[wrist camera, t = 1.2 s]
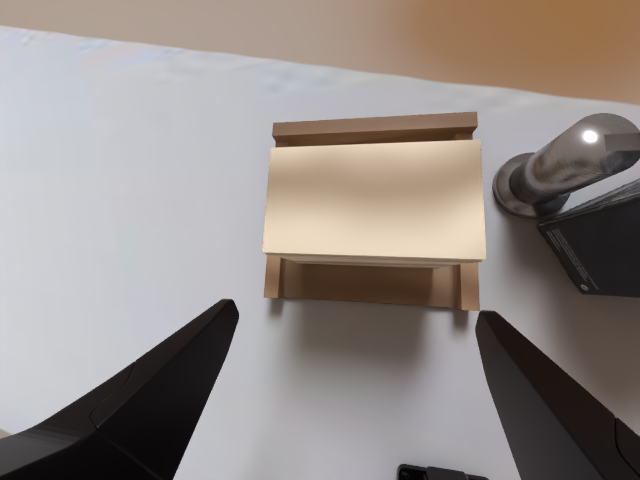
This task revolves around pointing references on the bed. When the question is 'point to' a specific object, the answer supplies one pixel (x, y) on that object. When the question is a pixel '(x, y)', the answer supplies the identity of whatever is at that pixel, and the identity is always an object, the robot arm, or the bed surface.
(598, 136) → the flanged metal cylinder
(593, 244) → the small box
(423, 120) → the bay
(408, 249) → the pale wooden box
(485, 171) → the bed surface
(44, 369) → the bed surface
